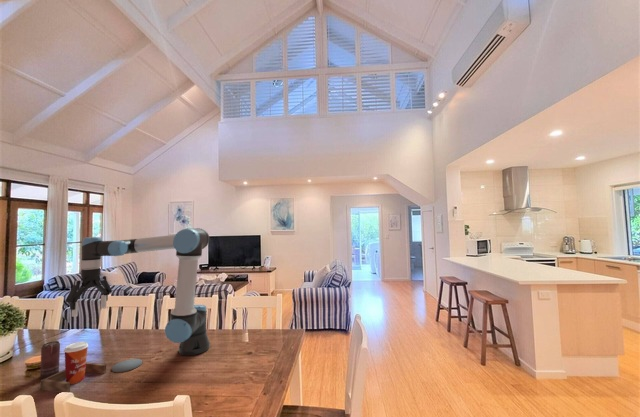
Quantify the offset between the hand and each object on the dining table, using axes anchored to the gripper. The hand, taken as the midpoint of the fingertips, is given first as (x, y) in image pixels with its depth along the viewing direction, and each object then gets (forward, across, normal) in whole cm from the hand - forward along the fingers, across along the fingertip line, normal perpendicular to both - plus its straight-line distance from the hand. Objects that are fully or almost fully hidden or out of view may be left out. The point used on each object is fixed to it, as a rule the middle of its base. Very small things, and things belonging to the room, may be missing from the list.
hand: (89, 312), depth 139 cm
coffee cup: (+25, +13, +11) cm, 30 cm away
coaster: (+24, -2, +21) cm, 32 cm away
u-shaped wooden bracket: (+24, +13, +11) cm, 30 cm away
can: (+25, +13, -5) cm, 28 cm away
